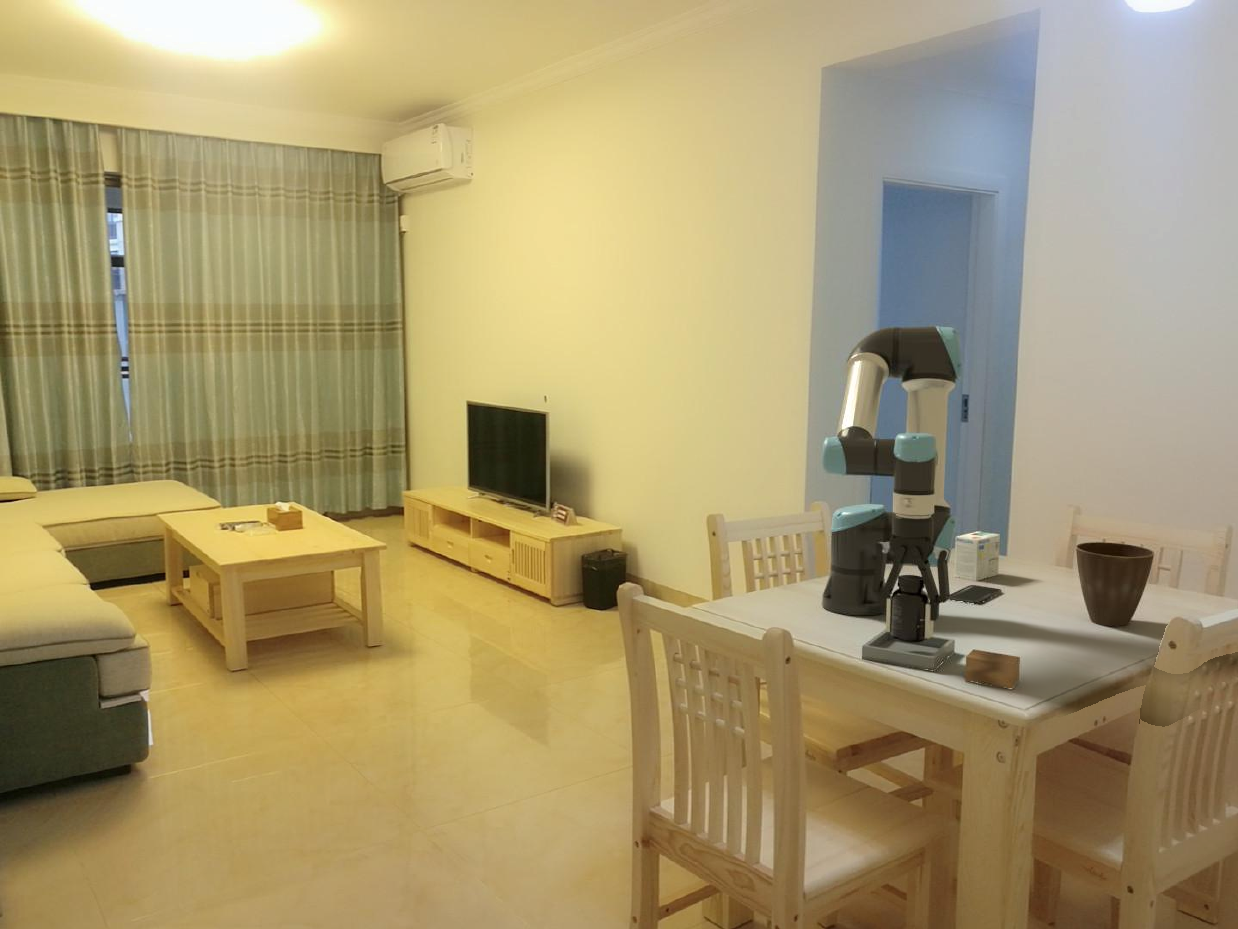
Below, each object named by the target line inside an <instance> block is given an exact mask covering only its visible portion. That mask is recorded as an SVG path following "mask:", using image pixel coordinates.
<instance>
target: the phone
mask: <svg viewBox="0 0 1238 929" xmlns="http://www.w3.org/2000/svg"><path fill="white" fill-rule="evenodd" d="M1000 593H1001V594H1002V589H1000V588H995V587H989V586H988V587H987V586H982V585H978V584H977V585H976V584H971V585H970V584H969V585H968V586H965V587H963V588H961V589H959V590H957V591H955V592H953V593H950V600H949V601H952V600H955V601H954V602H957V601H963V602H969V603H974V604H973V605H975V604H979V605H981V604H980V603H982V602H983V601H986V602H988V601H989V600H988V599H990V598H991V597H994V596H995V595H997V596H999V595H1001V594H1000ZM995 597H996V596H995ZM995 597H994V598H995ZM987 600H988V601H987ZM990 600H991V599H990ZM963 602H962V603H963ZM969 603H968V604H969ZM982 604H983V603H982Z"/></svg>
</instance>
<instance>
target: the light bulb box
mask: <svg viewBox="0 0 1238 929" xmlns="http://www.w3.org/2000/svg"><path fill="white" fill-rule="evenodd" d="M1000 538H1001V534H999V533H991V532H985V531H973V532H971V533H965V534H962V535H957V536H955V543H954V544H955V545H954V547H955V549H954V575H953V577H954V578H959V577H960V578H959V579H963V578H964V580H968V579H969V581H975V582H977V581H981V580H984V578H985V579H988V578H990V577H991V578H992V577H995V576H998V575H999V564H1000V563H999V562H1000V560H999V558H1000V541H1001V540H1000ZM987 577H988V578H987Z"/></svg>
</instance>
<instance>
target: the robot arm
mask: <svg viewBox="0 0 1238 929" xmlns="http://www.w3.org/2000/svg"><path fill="white" fill-rule="evenodd" d="M961 351H962V350H961V343H960V336H959V332H958V331H957V329H956V328H954V327H951V326H950V327H949V326H947V327H946V326H938V325H935V326H906V327H905V326H901V327H900V326H899V327H898V326H897V327H896V326H888V327H882V328H880V329H876V330H875V331H873V332H871V333H870V334H868V335H866V336H865V337H864V338H862V339H861V340H860V341H859V342H858V343H856V345H855V346H854V348H852V350H851V352H850V353H849V355H848V357H847V360H846V365H845V369H844V371H845V372H844V373H845V376H846V378H847V382H846V388H845V391H844V392H845V393H844V396H843V397H844V398H843V402H842V408H841V412H840V417H839V423H838V426H837V432H836V436H832V437H830V436H829V437H826V438H825V439H824V441H823V444H822V451H821V452H822V454H821V460H822V463H821V464H822V469H823V471H824V472H825V473H826V474H834V475H842V476H864V477H866V476H867V477H870V476H872V477H873V476H874V477H891V478H893V492H892V495H893V496H892V511H891V512H890V511H887V509H886V506H885V505H883V504H879V503H878V504H875V503H865V504H864V503H863V504H854V505H848V506H844V507H840V508H838V509H836V510H835V511H834V512H833V514H832V519H831V528H830V532H831V541H830V542H831V544H830V545H831V546H830V549H831V550H830V574H829V576H828V578H827V582H826V585H825V587H824V590H823V593H822V597H821V605H822V608H824V609H825V610H827V611H830V612H834V613H836V614H843V615H851V616H877V615H882V614H886V615H885V616H886V617H885V619H886V620H885V629H886V632H891V612H892V594H893V592H894V588H895V587H896V583H897V582H898V577H899V576H900V573H901V571H902V569H903V567H904V566H908V567H909V566H910V567H917V568H918V570H919V572H920V575H921V577H922V578H923V582H924V589H925V590H926V591H925V592H926V593H927V594H928V597H929V603H927V604H926V615H925V638H928V639H929V638H930V637H931V636H934V622H936V621H938V620H939V618H940V604H942V603H946V602H947V601H950V600H949V599H950V594H951V593H950V592H951V591H950V582H949V568H948V567H949V566H948V564H949V562H950V558H951V554H952V547H953V544H954V539H955V533H956V525H957V519H958V517H957V515H954V514H951V506H950V505H949V503H948V502H946V501H945V498H944V496H945V476H946V475H945V473H946V472H945V470H946V452H947V451H946V448H947V446H946V445H947V427H948V426H947V425H948V424H947V423H948V422H947V421H948V404H949V403H948V400H949V399H948V398H949V393H950V392H952V390H953V389H955V387H956V381H957V380H960V379H963V365H962V363H963V362H962V353H961ZM888 379H901V387H902V388H903V389H904V390H905V391H906V392H907V408H906V409H907V410H906V429H905V430H906V432H903V433H898V434H897V435H896V436H895V438H875V436H876V429H877V423H878V415H879V410H880V409H879V408H880V402H881V396H882V395H881V394H882V389H883V384H884V383H886V382H887V380H888ZM887 565H892V567H891V570H890V572H889V574H888V576H887V579H886V581H885V574H886V567H887ZM931 568H937V578H938V579H937V580H938V588H937V585H936V581H935V578H934V576H933V575H934V574H933V573H932V569H931Z"/></svg>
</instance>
